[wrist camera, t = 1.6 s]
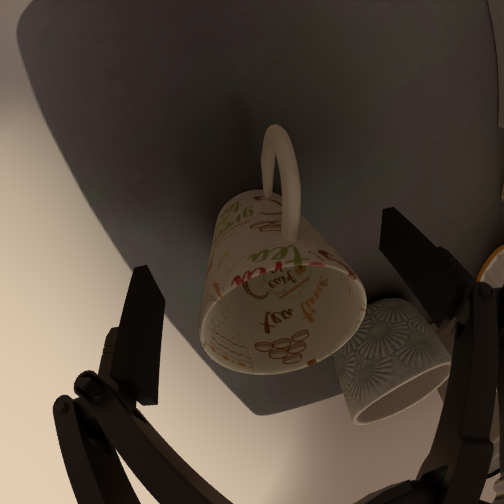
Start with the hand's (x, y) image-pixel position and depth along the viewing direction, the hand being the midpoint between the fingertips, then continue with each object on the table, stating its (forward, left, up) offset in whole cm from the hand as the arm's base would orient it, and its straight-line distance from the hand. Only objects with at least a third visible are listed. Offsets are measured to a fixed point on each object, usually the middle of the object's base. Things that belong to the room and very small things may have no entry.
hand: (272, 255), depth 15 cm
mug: (0, 0, -7) cm, 7 cm away
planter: (+19, +11, -7) cm, 23 cm away
